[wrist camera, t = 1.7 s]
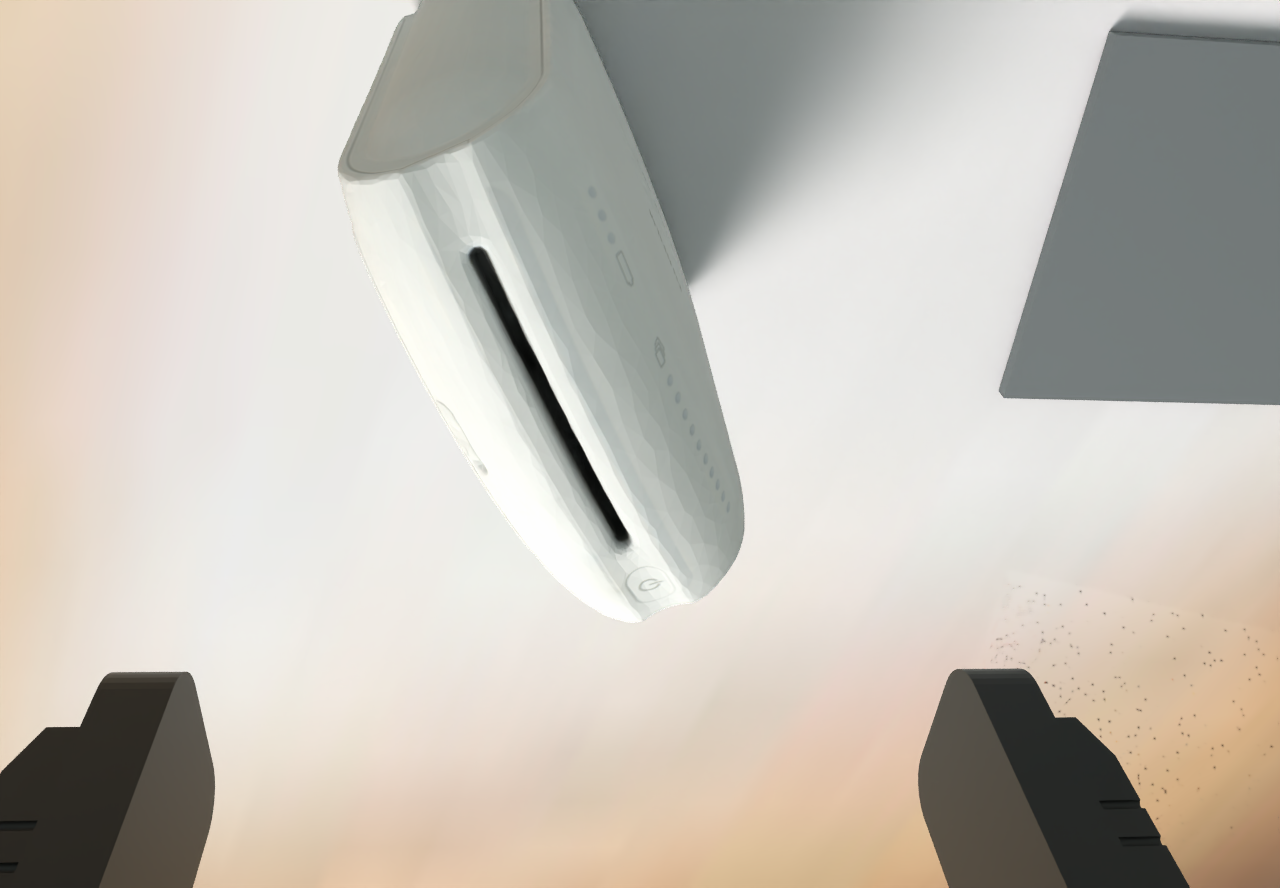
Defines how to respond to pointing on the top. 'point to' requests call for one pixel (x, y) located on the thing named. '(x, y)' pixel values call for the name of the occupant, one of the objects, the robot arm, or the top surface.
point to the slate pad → (1163, 233)
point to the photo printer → (545, 299)
